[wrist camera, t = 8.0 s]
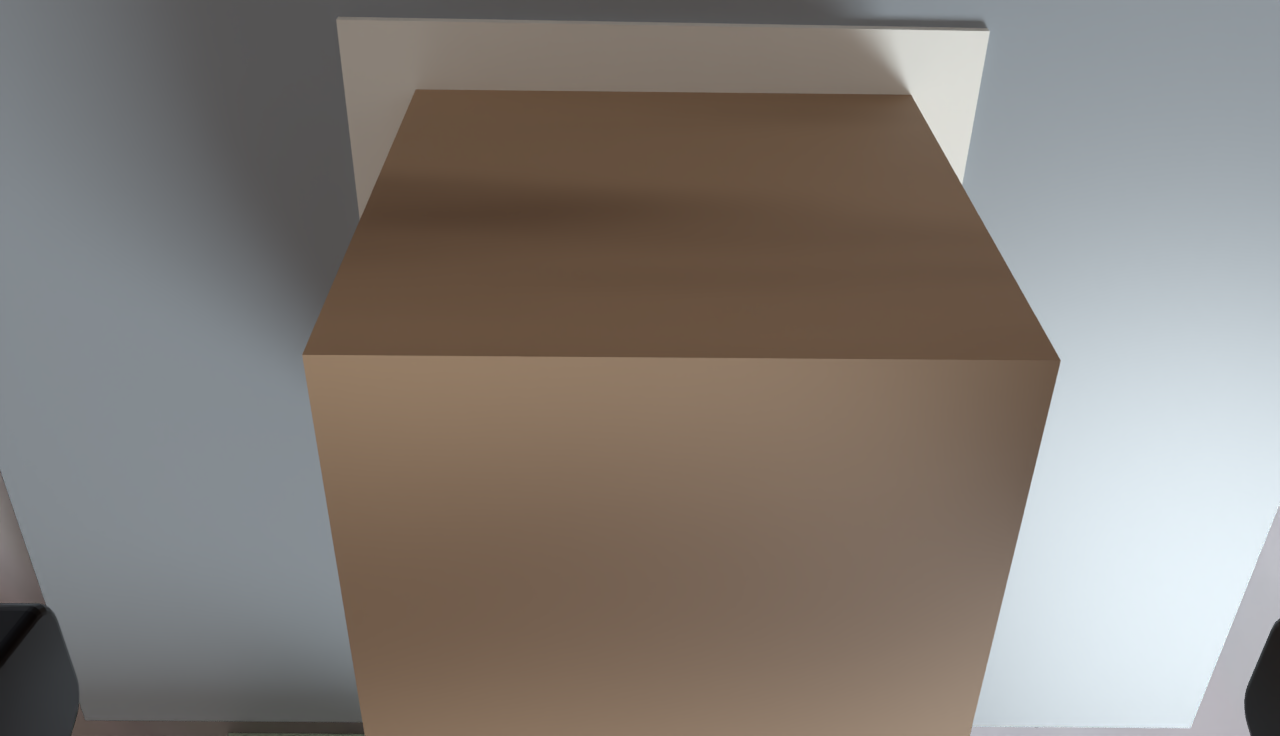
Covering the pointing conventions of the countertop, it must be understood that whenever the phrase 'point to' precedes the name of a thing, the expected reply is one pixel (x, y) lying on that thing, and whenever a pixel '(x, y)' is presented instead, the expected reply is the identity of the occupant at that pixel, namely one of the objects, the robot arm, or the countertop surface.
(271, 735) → the sage block
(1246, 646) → the countertop surface
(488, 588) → the walnut block
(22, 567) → the countertop surface
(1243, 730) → the countertop surface
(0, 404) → the plate
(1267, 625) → the countertop surface
